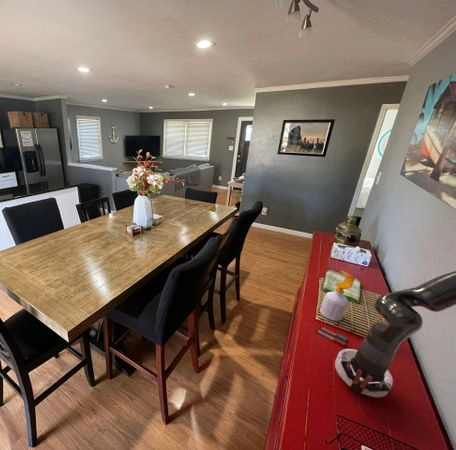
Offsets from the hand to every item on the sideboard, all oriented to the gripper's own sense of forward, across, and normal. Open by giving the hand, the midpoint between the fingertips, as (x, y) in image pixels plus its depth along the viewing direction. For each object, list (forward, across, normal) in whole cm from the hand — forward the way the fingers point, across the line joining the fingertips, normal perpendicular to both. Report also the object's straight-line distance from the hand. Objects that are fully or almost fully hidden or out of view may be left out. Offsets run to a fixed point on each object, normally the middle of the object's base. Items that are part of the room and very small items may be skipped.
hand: (354, 391), depth 80 cm
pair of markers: (+3, +12, -24) cm, 27 cm away
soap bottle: (+3, +17, -41) cm, 44 cm away
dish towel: (+3, +20, -72) cm, 75 cm away
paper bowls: (+4, 0, -9) cm, 9 cm away
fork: (+3, +13, -27) cm, 30 cm away
